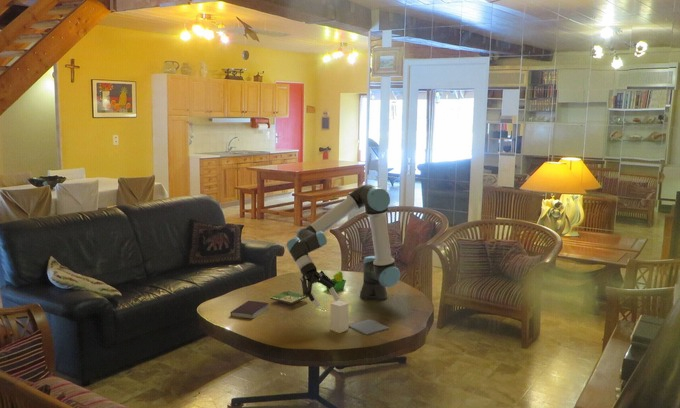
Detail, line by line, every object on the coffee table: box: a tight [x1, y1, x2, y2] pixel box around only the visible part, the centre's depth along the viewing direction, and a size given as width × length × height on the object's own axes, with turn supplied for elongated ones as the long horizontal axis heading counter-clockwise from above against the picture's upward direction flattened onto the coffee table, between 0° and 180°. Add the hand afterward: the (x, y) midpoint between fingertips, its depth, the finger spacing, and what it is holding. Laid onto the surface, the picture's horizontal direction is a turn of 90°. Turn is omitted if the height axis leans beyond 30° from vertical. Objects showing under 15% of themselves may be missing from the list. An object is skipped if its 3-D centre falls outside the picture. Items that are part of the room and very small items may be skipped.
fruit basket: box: [325, 270, 347, 292], centre depth 342 cm, size 11×9×11 cm
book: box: [230, 300, 270, 320], centre depth 304 cm, size 12×19×3 cm, turn 161°
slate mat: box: [348, 318, 390, 336], centre depth 283 cm, size 14×14×1 cm
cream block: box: [329, 300, 350, 334], centre depth 279 cm, size 6×6×13 cm
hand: (327, 302), depth 282 cm, fingers open, 13 cm apart
